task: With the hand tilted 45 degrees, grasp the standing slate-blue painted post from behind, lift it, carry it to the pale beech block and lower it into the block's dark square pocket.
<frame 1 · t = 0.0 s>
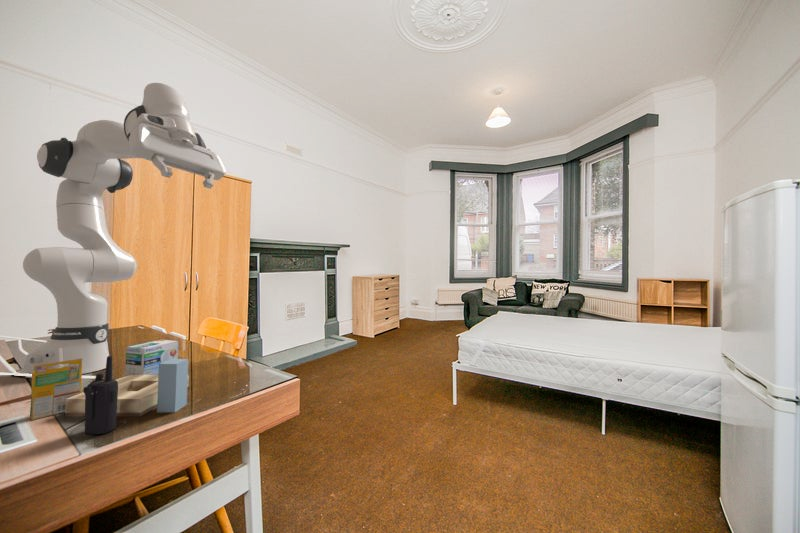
hand: (189, 181, 73), 54 cm above the table, tool tilted 30°, fingers open, 8 cm apart
pocket block: (133, 401, 74), on the table
light bulb box: (152, 380, 88), on the table
post: (172, 408, 70), on the table
two-way radio: (96, 433, 59), on the table
crayon box: (55, 413, 67), on the table
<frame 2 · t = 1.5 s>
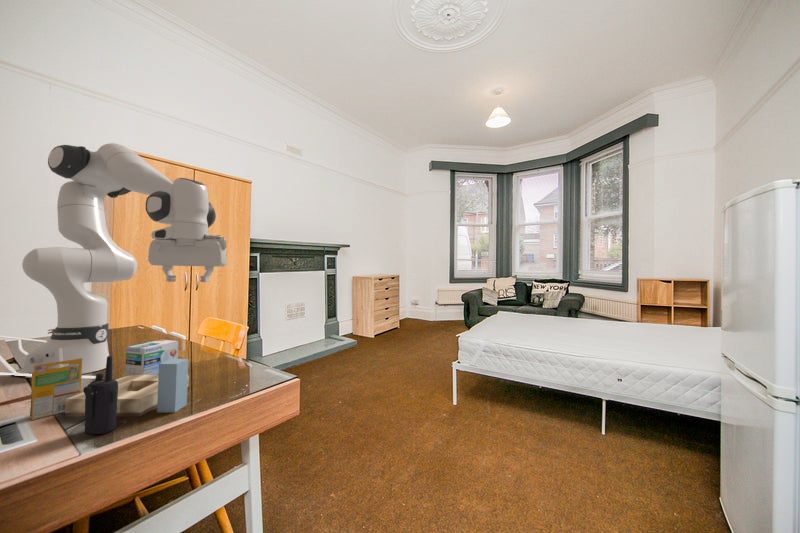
hand: (187, 281, 87), 29 cm above the table, tool pointing down, fingers open, 8 cm apart
nothing on the table moved.
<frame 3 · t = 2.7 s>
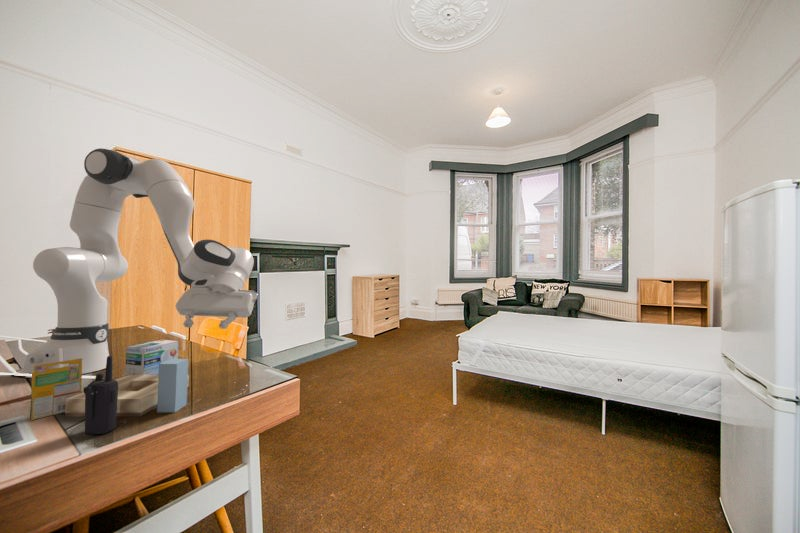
hand: (204, 326, 82), 17 cm above the table, tool tilted 45°, fingers open, 8 cm apart
nothing on the table moved.
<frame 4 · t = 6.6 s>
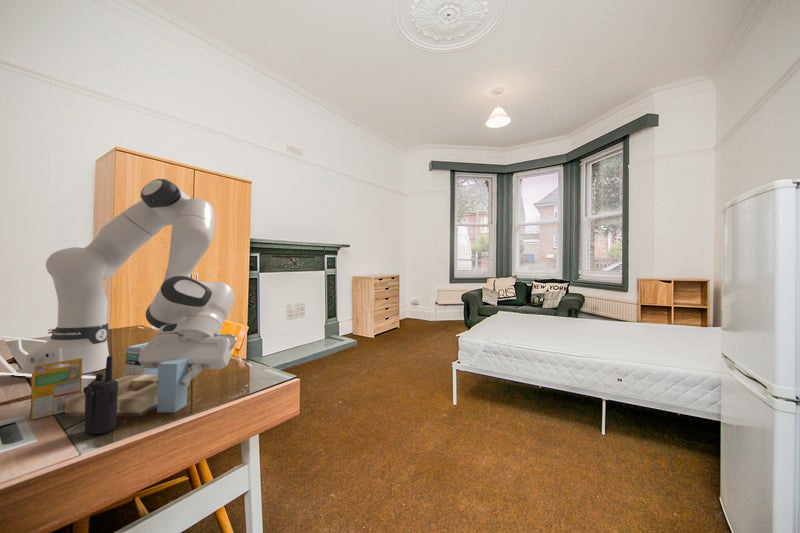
hand: (171, 384, 70), 6 cm above the table, tool tilted 45°, fingers closed on post, 4 cm apart
post: (172, 408, 70), on the table, touching gripper
everything else where it was.
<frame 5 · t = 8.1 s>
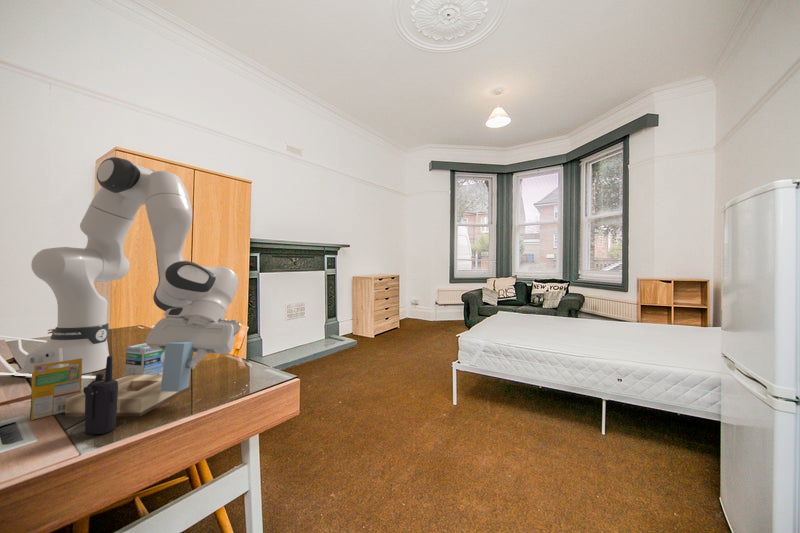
hand: (177, 367, 73), 9 cm above the table, tool tilted 40°, fingers closed on post, 4 cm apart
post: (174, 389, 72), point 4 cm above the table, tilted 6°, touching gripper
everything else where it was.
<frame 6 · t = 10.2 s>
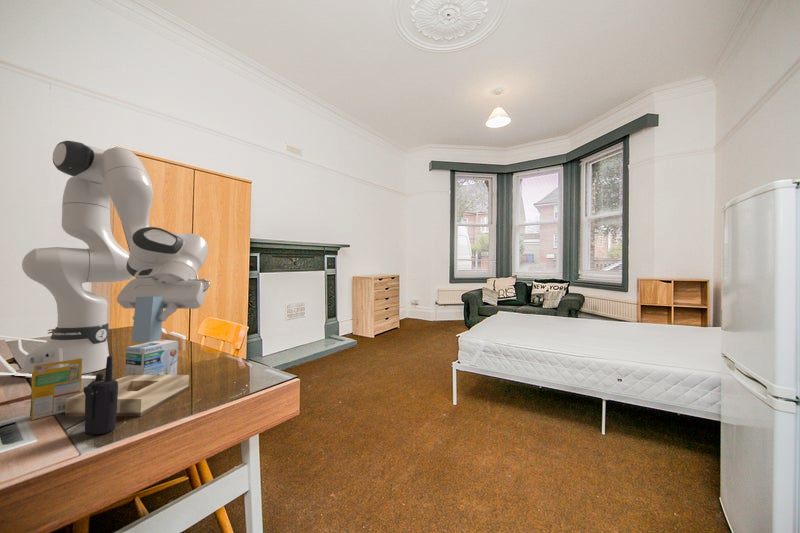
hand: (148, 320, 76), 20 cm above the table, tool tilted 40°, fingers closed on post, 4 cm apart
post: (146, 340, 75), point 15 cm above the table, tilted 8°, touching gripper
everything else where it was.
when the fingers open (8 cm above the table, at t = 12.6 s): post drops 2 cm, resting on pocket block.
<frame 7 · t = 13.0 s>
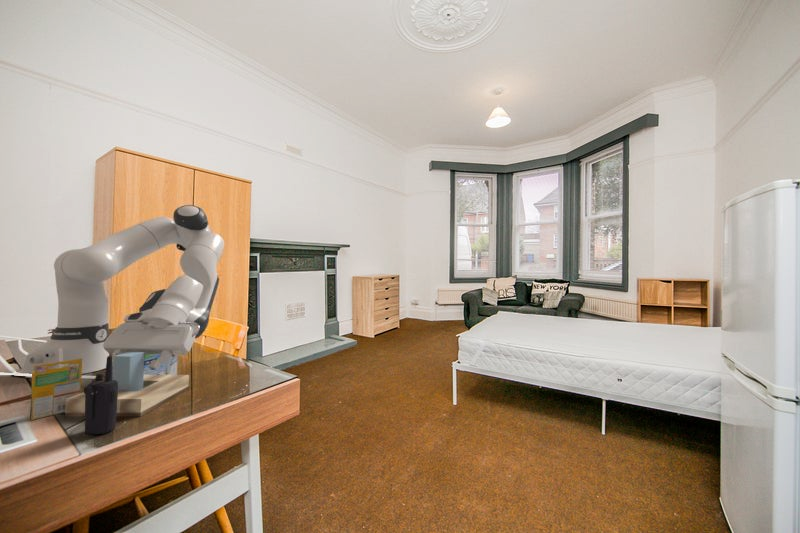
hand: (133, 368, 73), 8 cm above the table, tool tilted 45°, fingers open, 8 cm apart
post: (127, 399, 73), point 1 cm above the table, touching pocket block
everything else where it was.
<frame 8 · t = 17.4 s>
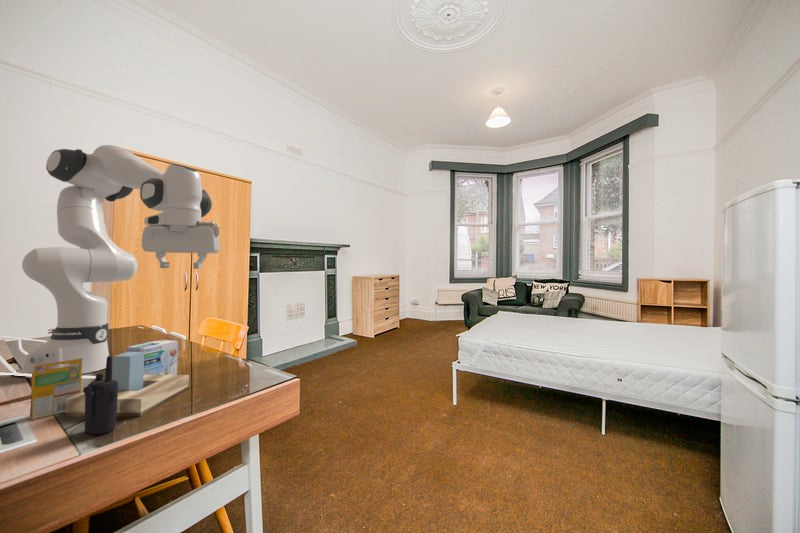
hand: (181, 268, 87), 33 cm above the table, tool pointing down, fingers open, 8 cm apart
nothing on the table moved.
at the end: post 1.2 cm from the pocket block (horizontally); post tilted 0°; the gripper is holding nothing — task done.
